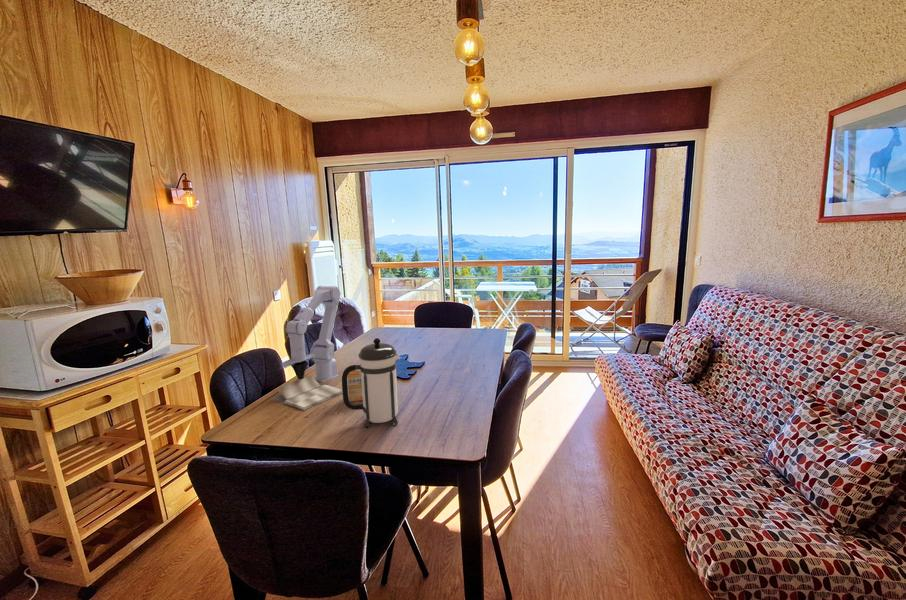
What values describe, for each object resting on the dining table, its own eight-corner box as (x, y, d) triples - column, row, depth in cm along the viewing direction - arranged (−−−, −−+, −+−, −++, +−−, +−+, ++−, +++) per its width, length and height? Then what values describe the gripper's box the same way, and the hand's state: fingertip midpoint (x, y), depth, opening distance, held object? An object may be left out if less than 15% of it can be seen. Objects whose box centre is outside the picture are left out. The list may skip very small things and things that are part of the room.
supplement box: (348, 402, 145) (346, 371, 143) (348, 397, 149) (346, 367, 147) (369, 399, 147) (367, 368, 145) (369, 395, 151) (367, 365, 149)
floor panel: (312, 383, 166) (312, 380, 166) (345, 393, 154) (345, 389, 154) (270, 399, 149) (270, 396, 149) (303, 412, 137) (303, 408, 137)
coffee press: (382, 406, 141) (377, 330, 136) (411, 417, 131) (407, 336, 126) (343, 423, 128) (337, 340, 123) (372, 438, 117) (366, 348, 113)
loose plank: (310, 377, 162) (311, 375, 162) (319, 387, 160) (320, 385, 159) (276, 389, 149) (277, 387, 149) (286, 401, 146) (287, 399, 146)
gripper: (306, 343, 163) (309, 372, 165) (276, 351, 151) (279, 382, 153) (316, 345, 159) (319, 374, 161) (286, 353, 147) (289, 385, 149)
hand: (300, 378), depth 157 cm, fingers closed
